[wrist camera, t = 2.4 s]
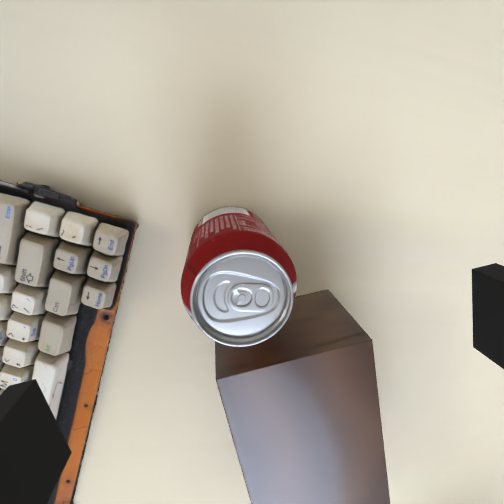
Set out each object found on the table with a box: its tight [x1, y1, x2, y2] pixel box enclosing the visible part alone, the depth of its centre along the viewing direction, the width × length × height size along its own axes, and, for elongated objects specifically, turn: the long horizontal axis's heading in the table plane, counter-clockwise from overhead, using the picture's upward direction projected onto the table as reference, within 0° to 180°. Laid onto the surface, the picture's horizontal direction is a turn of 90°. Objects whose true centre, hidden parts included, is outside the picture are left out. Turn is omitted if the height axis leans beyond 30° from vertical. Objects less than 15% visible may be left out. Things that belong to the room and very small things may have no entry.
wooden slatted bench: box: [215, 290, 390, 504], centre depth 30 cm, size 11×21×9 cm, turn 12°
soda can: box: [181, 207, 297, 347], centre depth 23 cm, size 7×7×12 cm
